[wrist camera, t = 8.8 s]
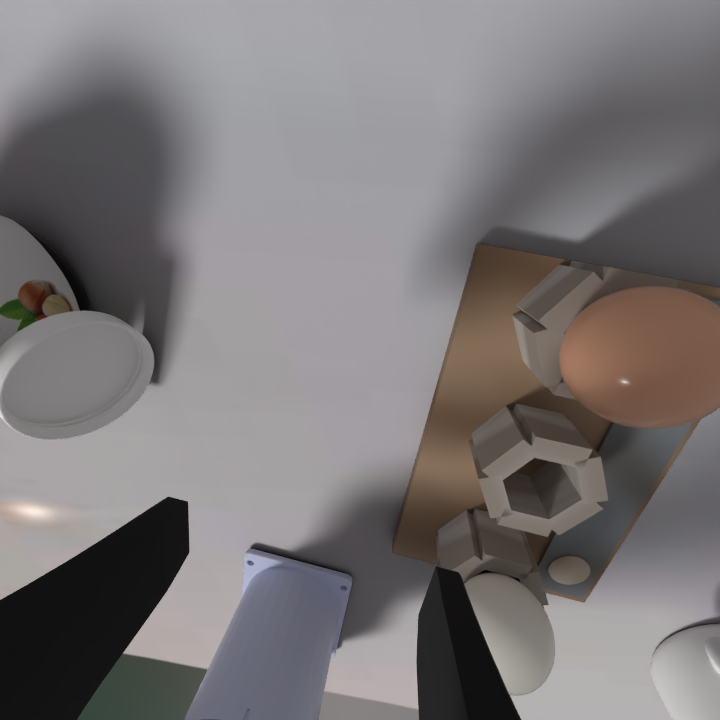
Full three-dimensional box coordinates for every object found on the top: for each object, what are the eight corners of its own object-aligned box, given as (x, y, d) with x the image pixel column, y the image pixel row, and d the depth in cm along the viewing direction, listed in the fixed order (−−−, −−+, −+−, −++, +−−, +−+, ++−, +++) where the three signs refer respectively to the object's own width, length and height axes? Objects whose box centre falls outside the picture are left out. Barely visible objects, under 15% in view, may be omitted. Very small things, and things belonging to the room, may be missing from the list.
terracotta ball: (635, 401, 14) (737, 475, 9) (523, 378, 14) (573, 440, 10) (694, 290, 12) (848, 321, 8) (566, 267, 12) (648, 284, 8)
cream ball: (518, 621, 19) (548, 731, 15) (438, 599, 19) (444, 701, 15) (548, 565, 17) (592, 672, 13) (460, 542, 17) (474, 639, 13)
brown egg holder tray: (577, 586, 22) (610, 659, 18) (392, 539, 23) (388, 599, 19) (754, 293, 15) (869, 314, 11) (477, 243, 16) (496, 246, 12)
